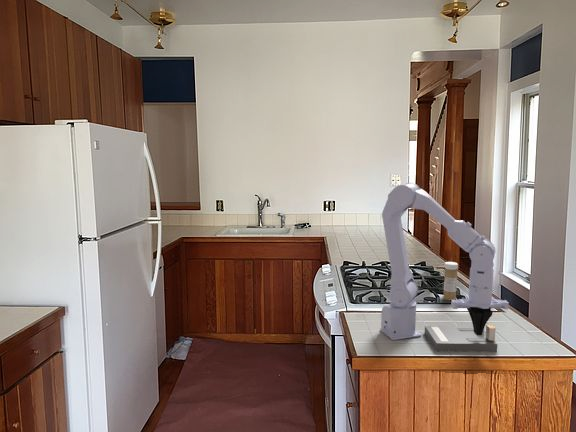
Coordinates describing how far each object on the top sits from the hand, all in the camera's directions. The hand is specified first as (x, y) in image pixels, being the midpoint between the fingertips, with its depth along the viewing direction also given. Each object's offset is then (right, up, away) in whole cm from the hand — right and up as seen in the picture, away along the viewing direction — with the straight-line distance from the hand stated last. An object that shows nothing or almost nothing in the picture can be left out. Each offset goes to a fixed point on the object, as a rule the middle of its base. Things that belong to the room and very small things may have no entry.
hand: (477, 333), depth 121 cm
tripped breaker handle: (+3, -1, 0) cm, 4 cm away
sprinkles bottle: (+7, +2, +40) cm, 41 cm away
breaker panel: (-4, -3, +4) cm, 6 cm away
